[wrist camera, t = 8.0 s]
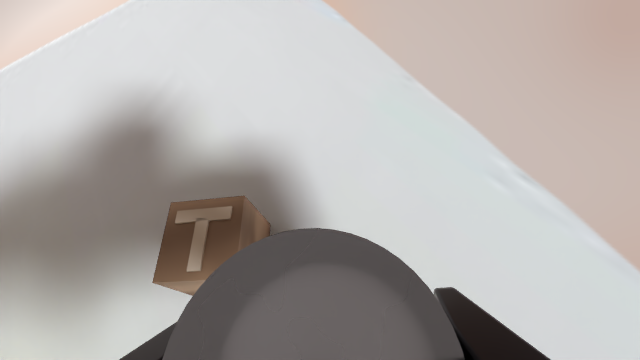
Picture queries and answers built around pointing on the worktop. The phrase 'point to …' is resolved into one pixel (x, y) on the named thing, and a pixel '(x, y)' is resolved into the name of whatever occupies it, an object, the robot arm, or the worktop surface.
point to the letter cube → (205, 239)
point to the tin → (313, 305)
